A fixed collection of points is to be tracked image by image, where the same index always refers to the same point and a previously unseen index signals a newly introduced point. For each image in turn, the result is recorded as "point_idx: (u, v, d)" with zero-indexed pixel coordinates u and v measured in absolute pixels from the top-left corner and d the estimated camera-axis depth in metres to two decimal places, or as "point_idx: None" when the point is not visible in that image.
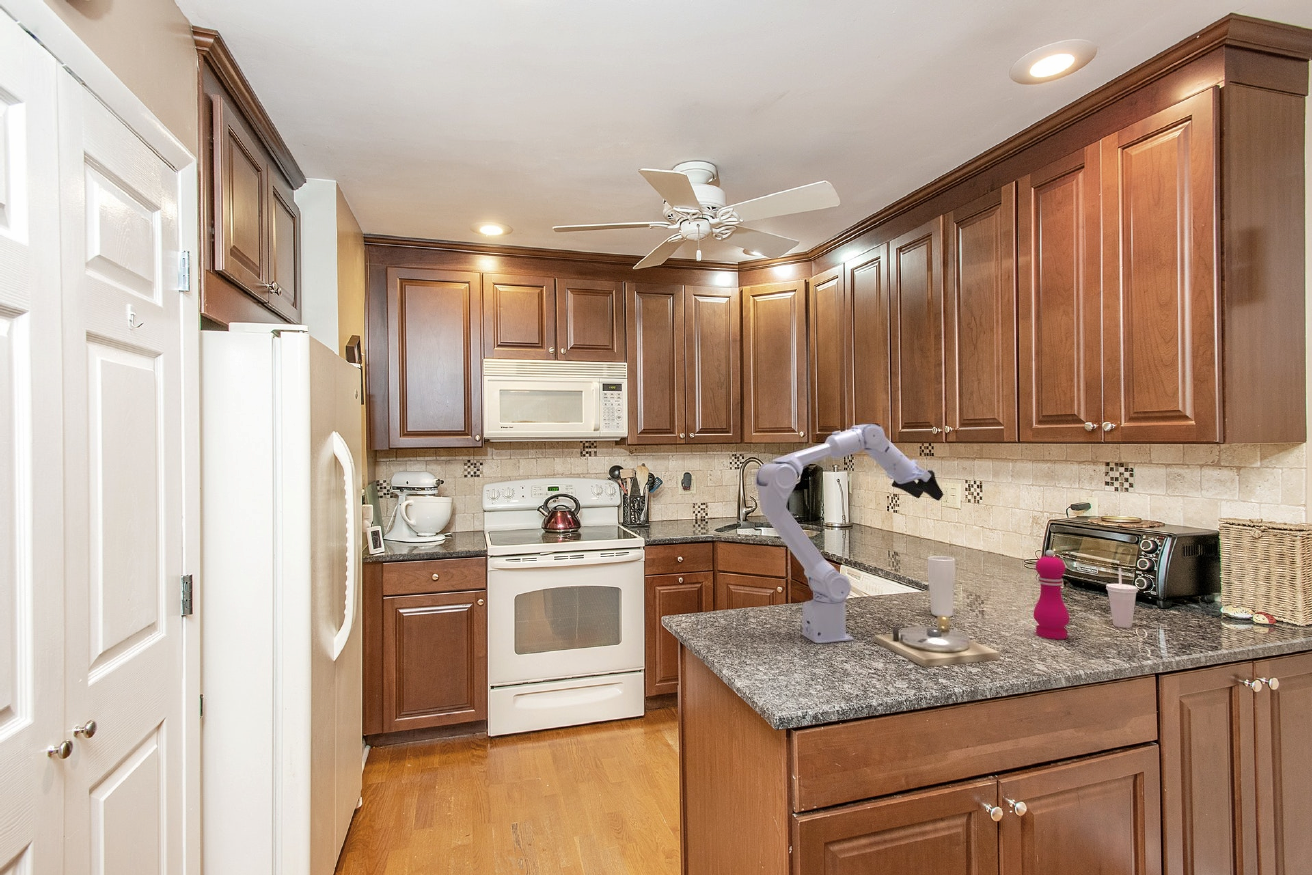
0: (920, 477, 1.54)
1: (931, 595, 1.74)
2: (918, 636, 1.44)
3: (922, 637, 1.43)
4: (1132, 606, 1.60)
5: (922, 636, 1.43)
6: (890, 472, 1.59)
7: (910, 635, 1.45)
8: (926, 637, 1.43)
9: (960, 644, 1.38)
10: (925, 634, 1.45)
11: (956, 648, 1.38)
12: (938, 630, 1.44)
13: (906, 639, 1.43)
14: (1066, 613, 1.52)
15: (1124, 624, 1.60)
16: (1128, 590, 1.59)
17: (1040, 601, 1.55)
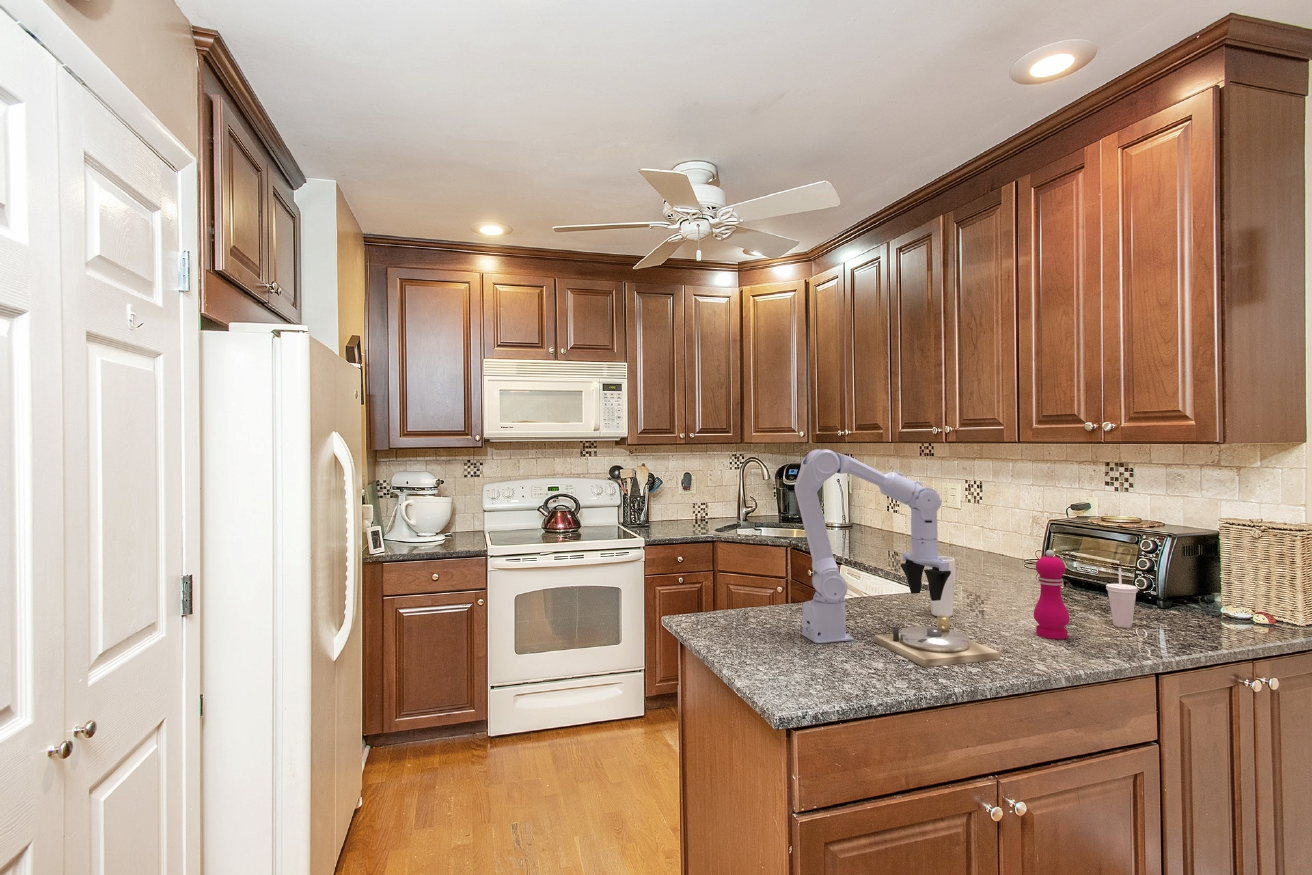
0: (939, 563, 1.48)
1: None
2: (918, 636, 1.44)
3: (922, 637, 1.43)
4: (1132, 606, 1.60)
5: (922, 636, 1.43)
6: (915, 544, 1.54)
7: (910, 635, 1.45)
8: (926, 637, 1.43)
9: (960, 644, 1.38)
10: (925, 634, 1.45)
11: (956, 648, 1.38)
12: (938, 630, 1.44)
13: (906, 639, 1.43)
14: (1066, 613, 1.52)
15: (1124, 624, 1.60)
16: (1128, 590, 1.59)
17: (1040, 601, 1.55)
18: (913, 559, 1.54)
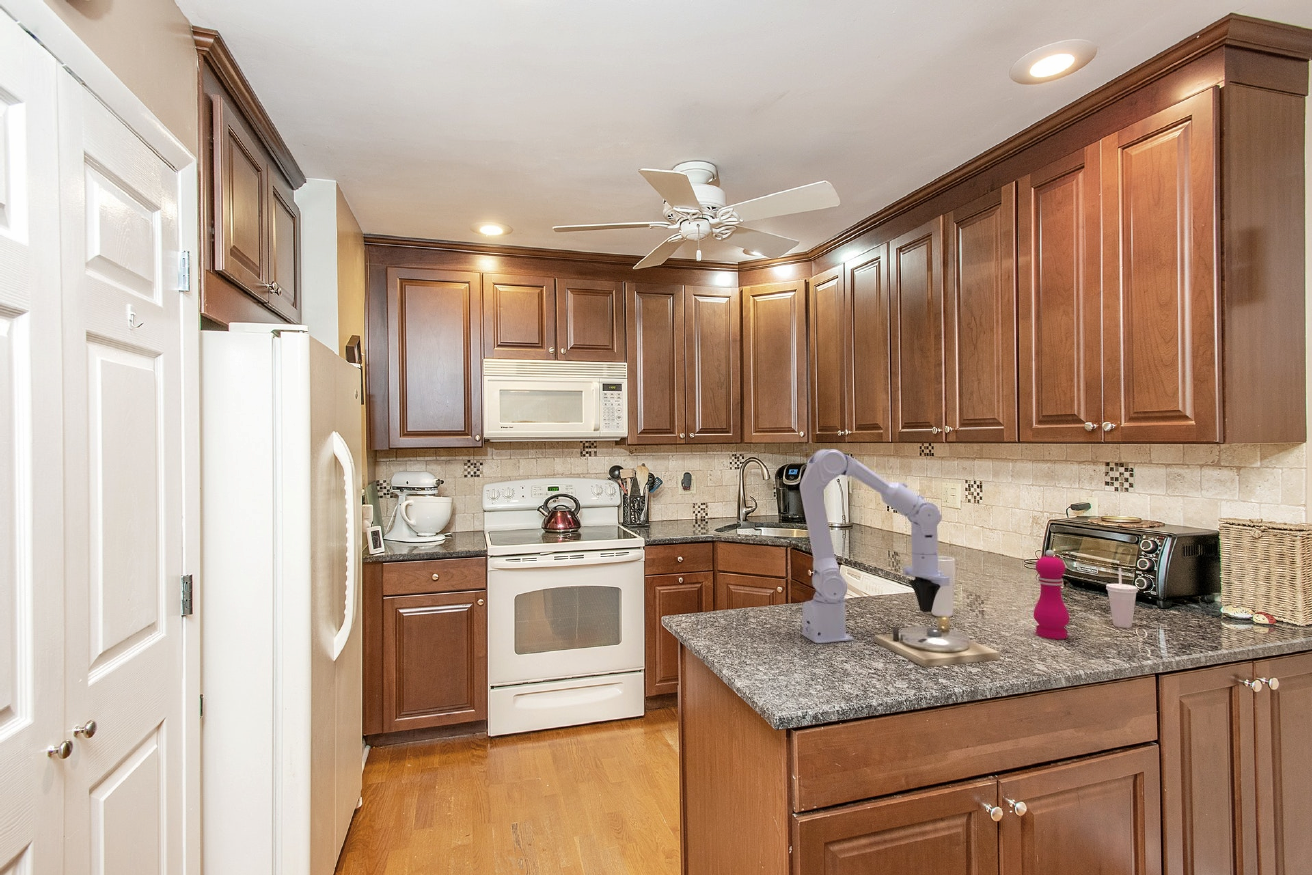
0: (939, 578, 1.48)
1: None
2: (918, 636, 1.44)
3: (922, 637, 1.43)
4: (1132, 606, 1.60)
5: (922, 636, 1.43)
6: (915, 558, 1.54)
7: (910, 635, 1.45)
8: (926, 637, 1.43)
9: (960, 644, 1.38)
10: (925, 634, 1.45)
11: (956, 648, 1.38)
12: (938, 630, 1.44)
13: (906, 639, 1.43)
14: (1066, 613, 1.52)
15: (1124, 624, 1.60)
16: (1128, 590, 1.59)
17: (1040, 601, 1.55)
18: (913, 574, 1.54)
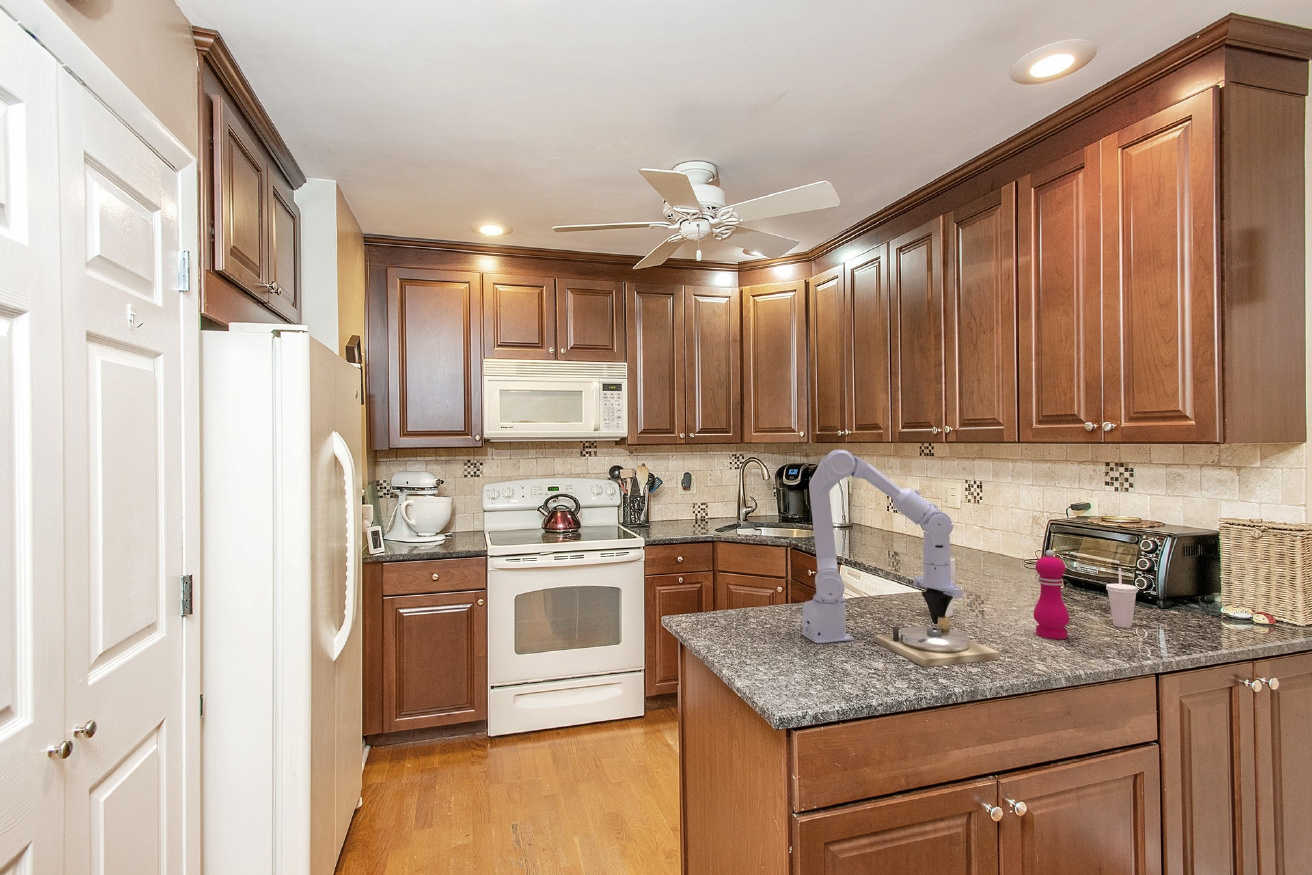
0: (953, 590, 1.44)
1: None
2: (918, 636, 1.44)
3: (922, 637, 1.43)
4: (1132, 606, 1.60)
5: (922, 636, 1.43)
6: (927, 569, 1.49)
7: (910, 635, 1.45)
8: (926, 637, 1.43)
9: (960, 644, 1.38)
10: (925, 634, 1.45)
11: (956, 648, 1.38)
12: (938, 630, 1.44)
13: (906, 639, 1.43)
14: (1066, 613, 1.52)
15: (1124, 624, 1.60)
16: (1128, 590, 1.59)
17: (1040, 601, 1.55)
18: (925, 585, 1.50)
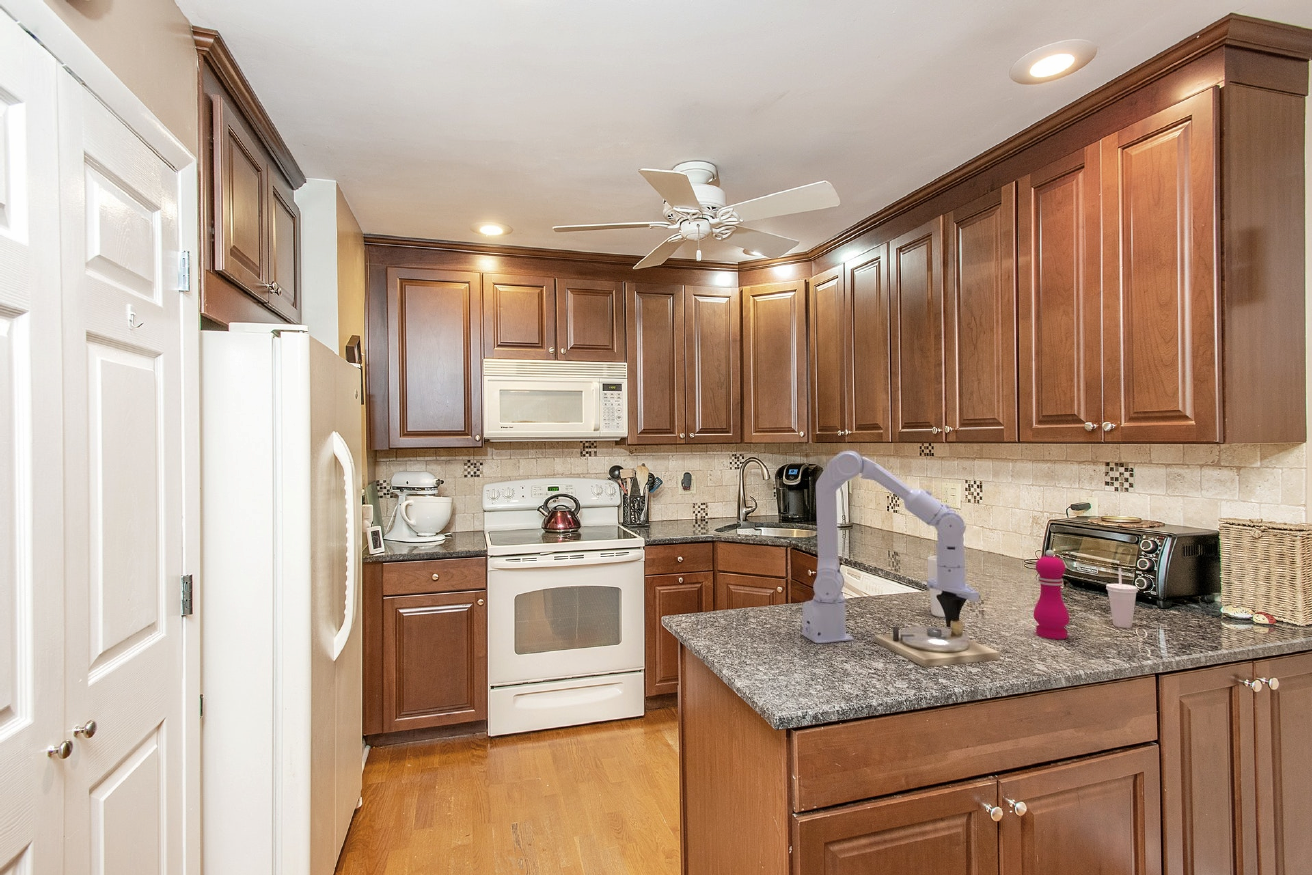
0: (968, 593, 1.40)
1: (931, 595, 1.74)
2: (915, 632, 1.47)
3: (916, 634, 1.46)
4: (1132, 606, 1.60)
5: (918, 633, 1.46)
6: (941, 571, 1.45)
7: (910, 630, 1.48)
8: (920, 634, 1.45)
9: (937, 644, 1.38)
10: (927, 633, 1.46)
11: (931, 647, 1.38)
12: (936, 630, 1.44)
13: (900, 633, 1.48)
14: (1066, 613, 1.52)
15: (1124, 624, 1.60)
16: (1128, 590, 1.59)
17: (1040, 601, 1.55)
18: (939, 588, 1.46)
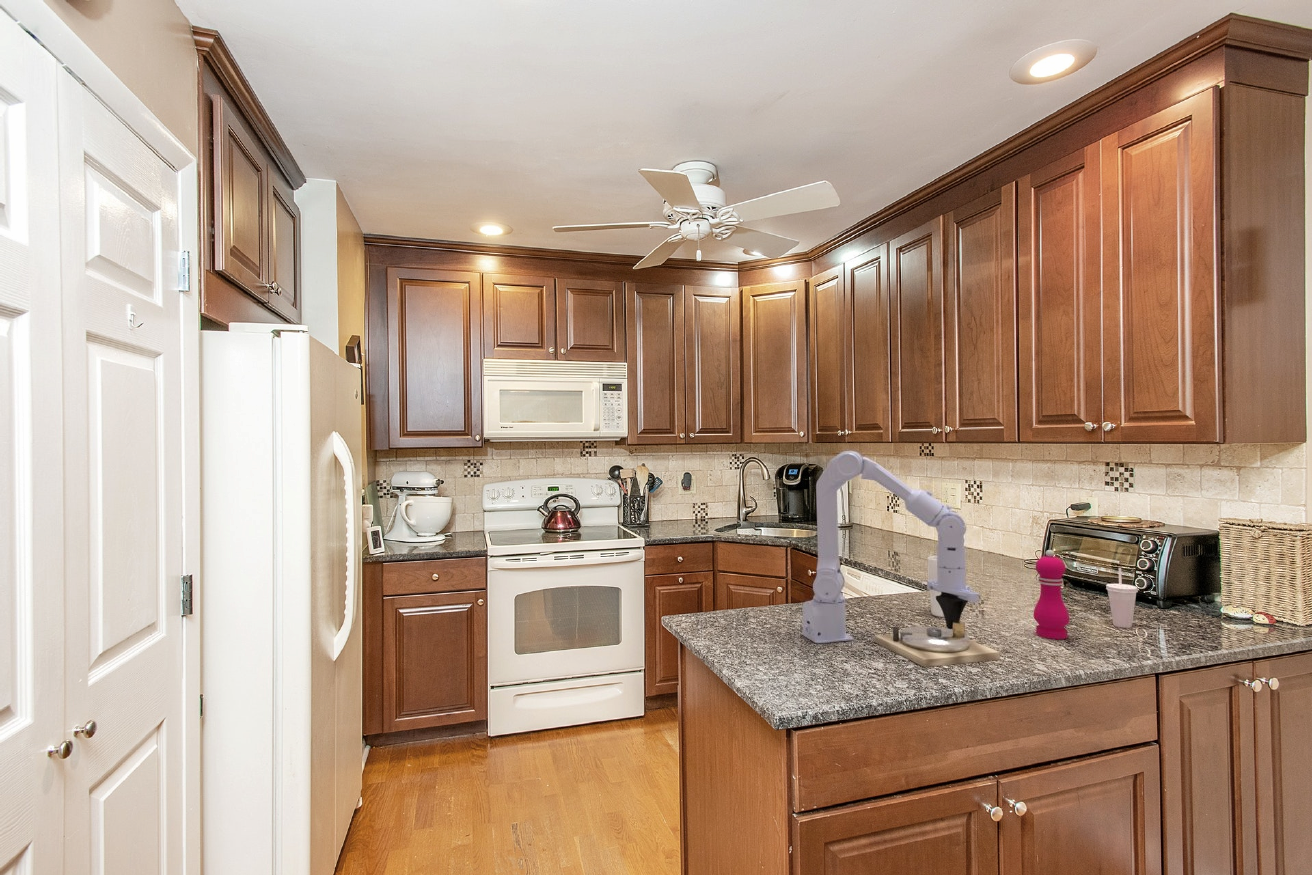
0: (968, 594, 1.39)
1: (931, 595, 1.74)
2: (916, 631, 1.47)
3: (916, 632, 1.46)
4: (1132, 606, 1.60)
5: (918, 632, 1.46)
6: (942, 572, 1.45)
7: (913, 629, 1.49)
8: (919, 633, 1.46)
9: (927, 643, 1.39)
10: None
11: (922, 646, 1.39)
12: (934, 630, 1.44)
13: None
14: (1066, 613, 1.52)
15: (1124, 624, 1.60)
16: (1128, 590, 1.59)
17: (1040, 601, 1.55)
18: (939, 589, 1.45)
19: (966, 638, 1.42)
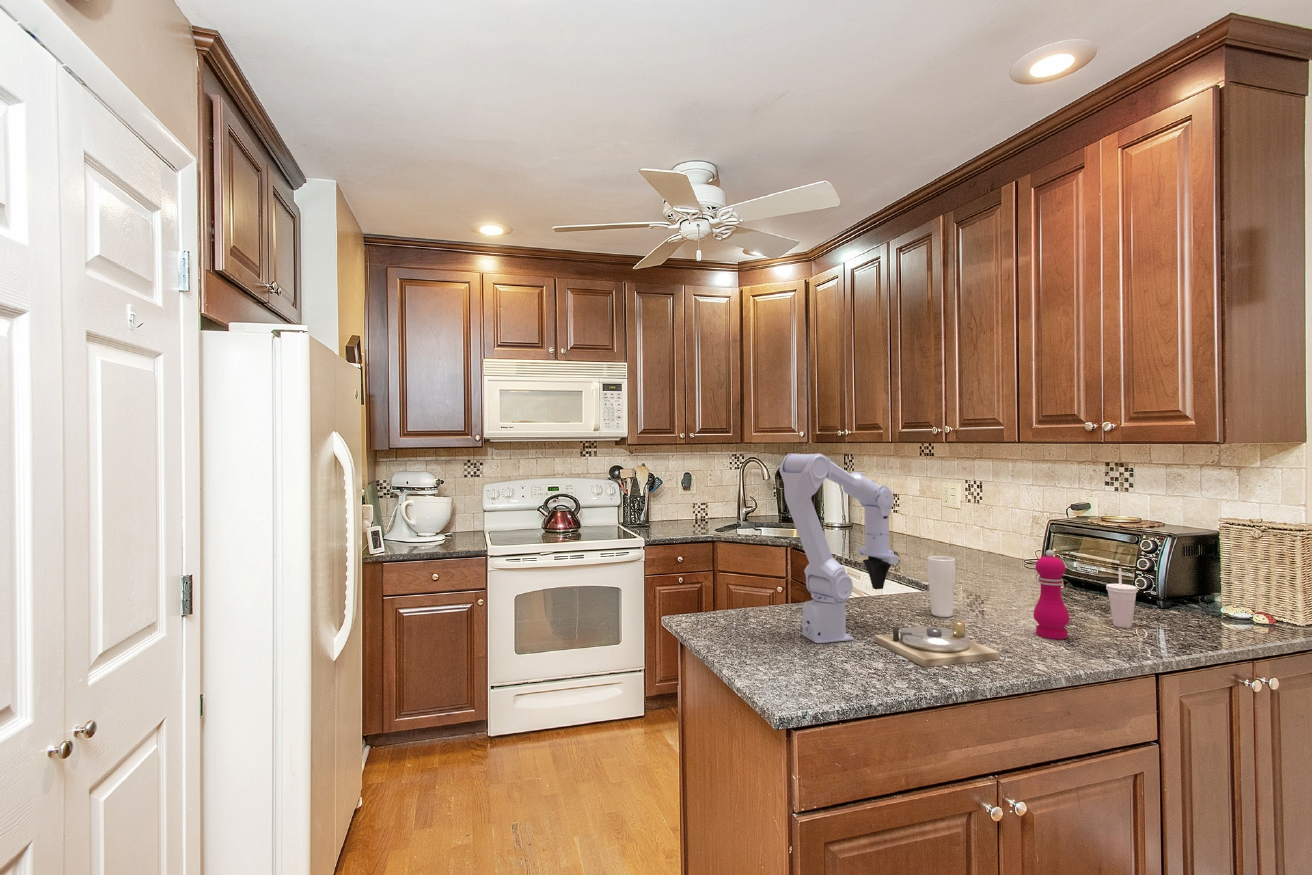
0: (889, 557, 1.57)
1: (931, 595, 1.74)
2: (916, 631, 1.47)
3: (916, 632, 1.46)
4: (1132, 606, 1.60)
5: (918, 632, 1.46)
6: (868, 538, 1.63)
7: (913, 629, 1.49)
8: (919, 633, 1.46)
9: (927, 643, 1.39)
10: None
11: (922, 646, 1.39)
12: (934, 630, 1.44)
13: None
14: (1066, 613, 1.52)
15: (1124, 624, 1.60)
16: (1128, 590, 1.59)
17: (1040, 601, 1.55)
18: (866, 553, 1.63)
19: (966, 638, 1.42)
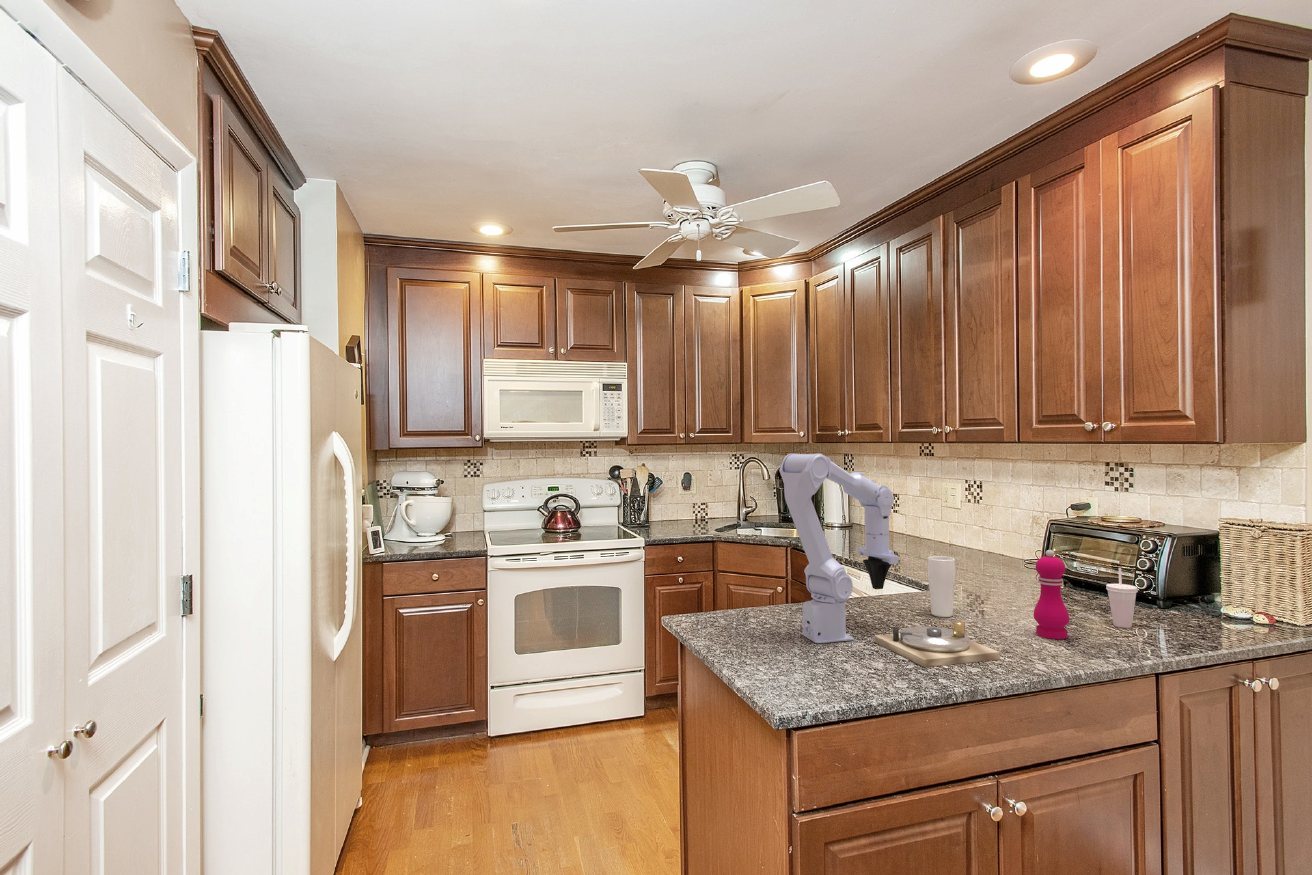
0: (889, 557, 1.57)
1: (931, 595, 1.74)
2: (916, 631, 1.47)
3: (916, 632, 1.46)
4: (1132, 606, 1.60)
5: (918, 632, 1.46)
6: (868, 538, 1.63)
7: (913, 629, 1.49)
8: (919, 633, 1.46)
9: (927, 643, 1.39)
10: None
11: (922, 646, 1.39)
12: (934, 630, 1.44)
13: None
14: (1066, 613, 1.52)
15: (1124, 624, 1.60)
16: (1128, 590, 1.59)
17: (1040, 601, 1.55)
18: (866, 553, 1.63)
19: (966, 638, 1.42)
